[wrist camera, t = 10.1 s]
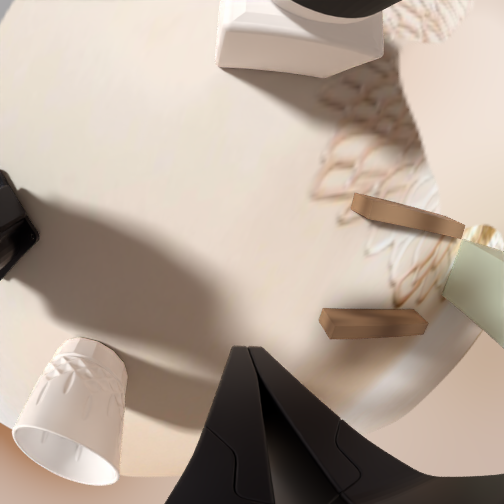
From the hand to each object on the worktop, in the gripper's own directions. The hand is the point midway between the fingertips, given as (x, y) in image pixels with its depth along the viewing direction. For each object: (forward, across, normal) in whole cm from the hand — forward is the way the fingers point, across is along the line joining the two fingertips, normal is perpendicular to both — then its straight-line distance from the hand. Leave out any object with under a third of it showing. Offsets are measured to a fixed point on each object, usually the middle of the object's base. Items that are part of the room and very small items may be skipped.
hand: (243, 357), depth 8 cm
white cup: (+12, +10, +13) cm, 21 cm away
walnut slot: (+12, -14, +1) cm, 18 cm away
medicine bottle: (+12, -1, -14) cm, 19 cm away
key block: (+12, -30, +1) cm, 33 cm away
